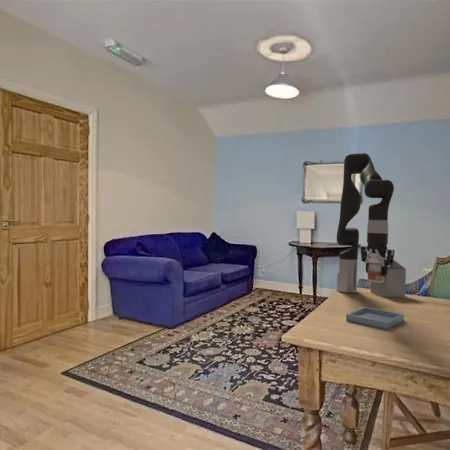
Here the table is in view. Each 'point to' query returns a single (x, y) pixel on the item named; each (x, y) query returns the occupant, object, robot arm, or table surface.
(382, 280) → the pill bottle
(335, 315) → the table surface
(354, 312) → the tray
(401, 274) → the planter
